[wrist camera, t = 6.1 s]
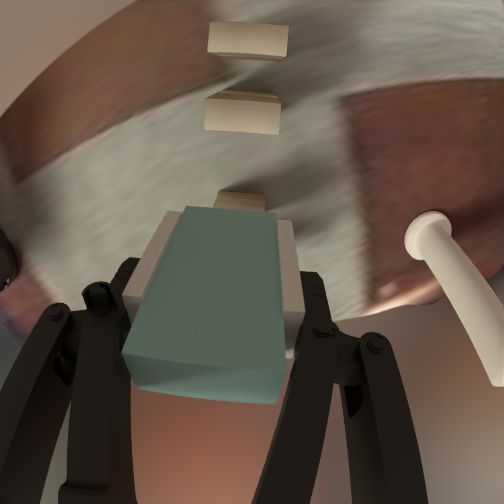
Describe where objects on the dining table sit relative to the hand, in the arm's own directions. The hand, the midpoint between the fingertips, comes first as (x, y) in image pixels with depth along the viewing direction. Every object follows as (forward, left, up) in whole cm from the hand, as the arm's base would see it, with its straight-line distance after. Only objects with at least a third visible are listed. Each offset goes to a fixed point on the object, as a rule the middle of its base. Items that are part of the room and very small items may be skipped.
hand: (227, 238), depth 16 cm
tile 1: (0, +11, -17) cm, 20 cm away
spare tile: (0, 0, -1) cm, 1 cm away
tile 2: (0, +5, -17) cm, 17 cm away
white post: (+24, -7, -17) cm, 30 cm away
